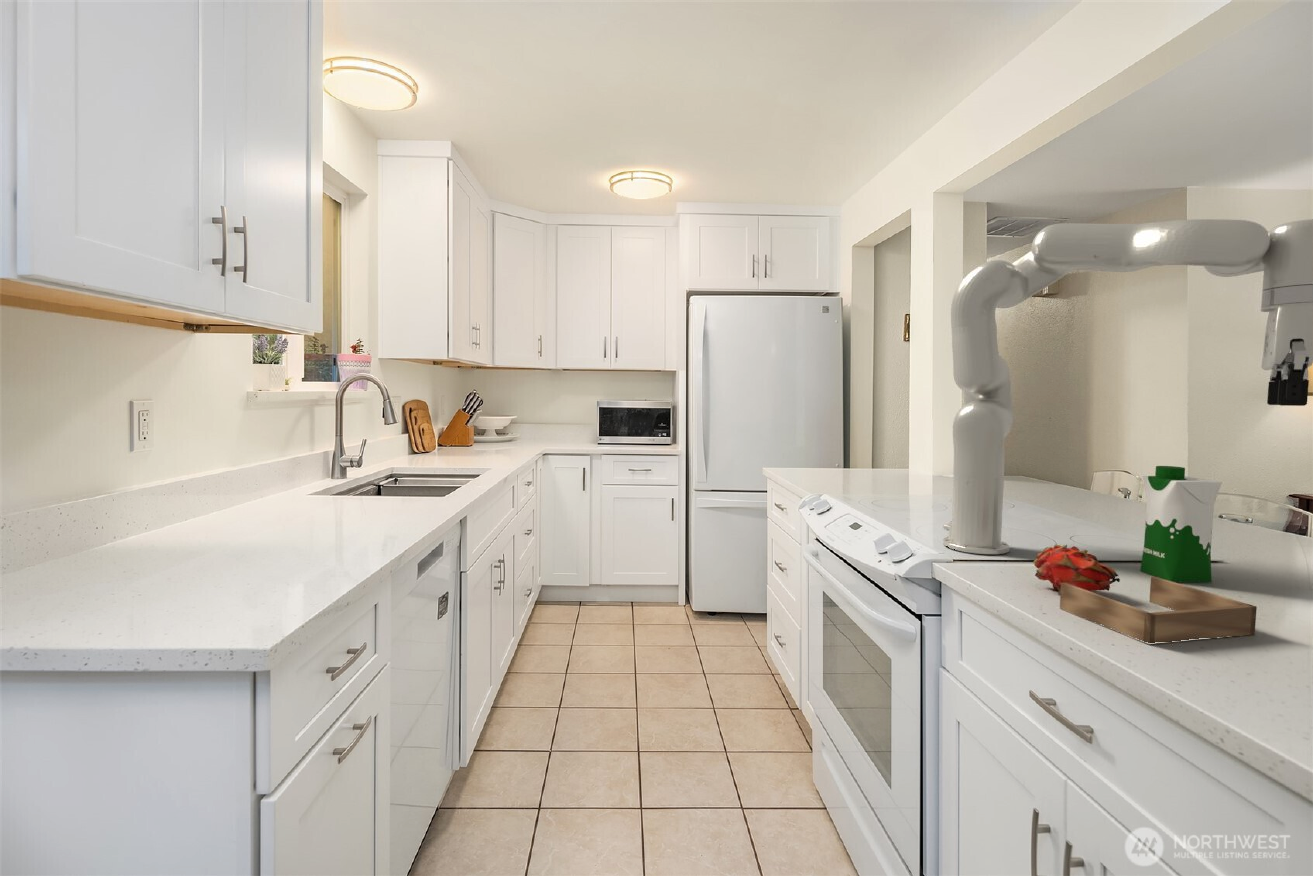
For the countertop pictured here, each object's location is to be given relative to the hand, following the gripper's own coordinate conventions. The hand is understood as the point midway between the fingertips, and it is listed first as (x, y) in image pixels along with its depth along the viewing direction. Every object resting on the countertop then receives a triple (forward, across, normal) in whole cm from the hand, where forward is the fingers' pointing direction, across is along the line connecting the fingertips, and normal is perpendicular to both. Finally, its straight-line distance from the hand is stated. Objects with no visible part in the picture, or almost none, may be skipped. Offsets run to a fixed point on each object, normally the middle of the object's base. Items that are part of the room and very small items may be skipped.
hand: (1285, 405), depth 99 cm
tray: (+31, +31, -16) cm, 47 cm away
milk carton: (+31, 0, -12) cm, 34 cm away
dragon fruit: (+32, +22, -26) cm, 47 cm away
